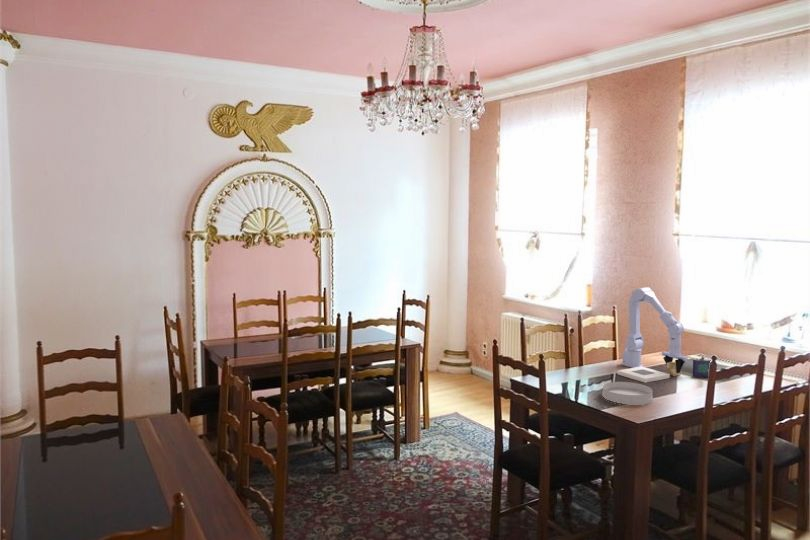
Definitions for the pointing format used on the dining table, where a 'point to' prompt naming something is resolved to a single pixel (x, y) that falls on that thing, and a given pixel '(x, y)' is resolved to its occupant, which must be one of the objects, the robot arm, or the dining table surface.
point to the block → (672, 369)
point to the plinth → (643, 374)
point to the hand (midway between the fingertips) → (673, 371)
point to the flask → (701, 367)
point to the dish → (627, 393)
